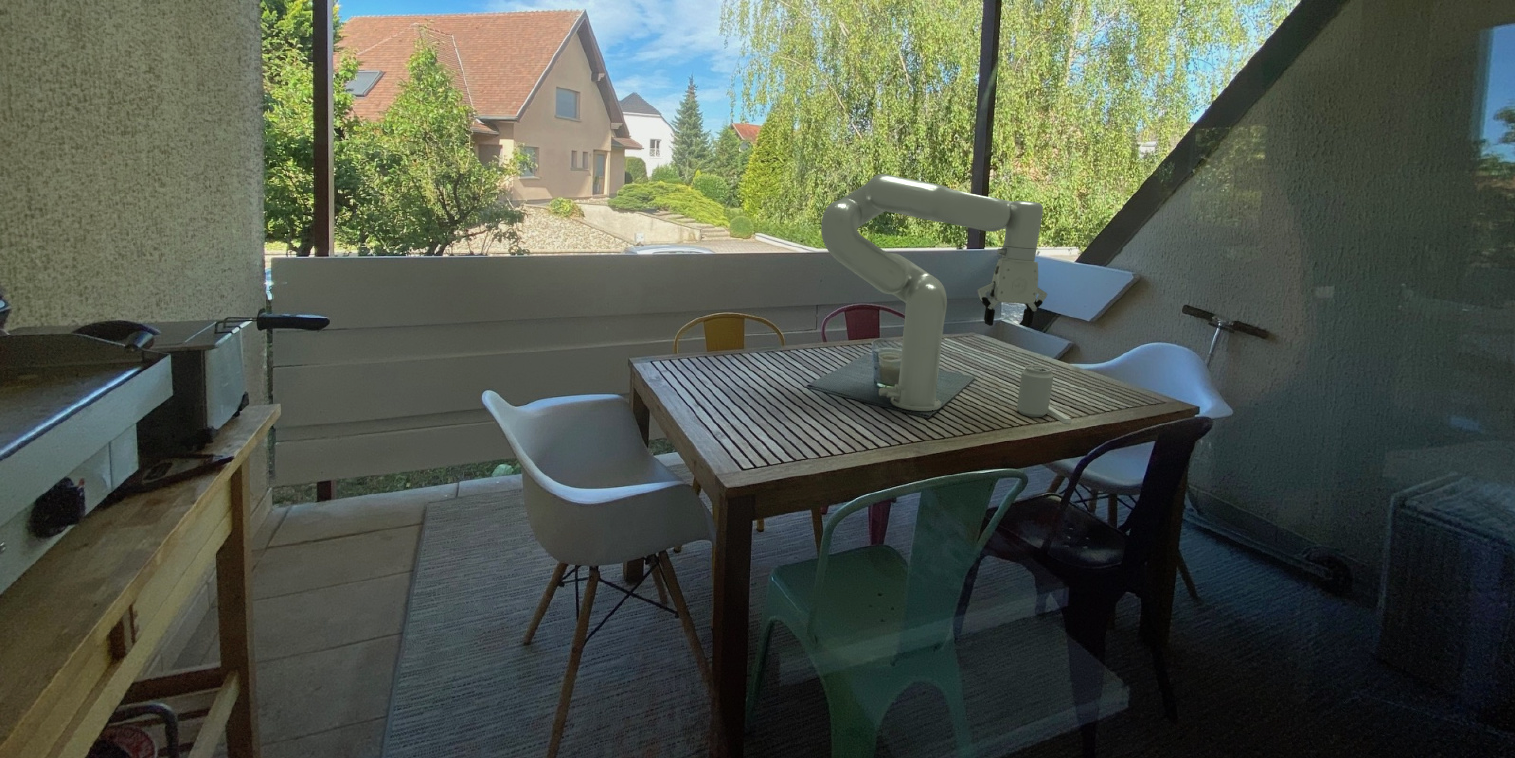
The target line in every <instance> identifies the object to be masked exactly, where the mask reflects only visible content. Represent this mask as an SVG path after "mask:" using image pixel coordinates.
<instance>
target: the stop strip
mask: <svg viewBox="0 0 1515 758" xmlns="http://www.w3.org/2000/svg"><path fill="white" fill-rule="evenodd" d="M1047 414H1048V415H1050V416H1052V417H1053V418H1055V419H1056V420H1058V421H1059V422H1061V423H1063V424H1065V425H1067V424H1069V425H1071V424H1072V418H1070V417H1069V416H1067V415H1066V414H1064V413H1062V412H1061V411H1059V410H1057V409H1055V408H1054V407H1053V406H1051V405H1049V409H1048V413H1047Z"/></svg>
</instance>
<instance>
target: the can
mask: <svg viewBox="0 0 1515 758" xmlns="http://www.w3.org/2000/svg"><path fill="white" fill-rule="evenodd" d="M1052 370H1053V369H1051V367H1049V366H1048V367H1047V366H1045V365H1044V366H1043V365H1037V364H1027V365H1025V367H1024V369H1023V370H1022V371H1021V374H1020V375H1021V376H1020V382H1019V383H1020V384H1019V389H1018V390H1019V391H1018V397H1017V403H1016V409H1017V411H1018V412H1019V414H1021V415H1023V416H1026V417H1032V418H1042V417H1044V416H1045V415H1047V414H1048V409H1049V406H1050V400H1051V394H1052V389H1053V382H1054V374H1053V373H1052Z"/></svg>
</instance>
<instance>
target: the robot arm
mask: <svg viewBox="0 0 1515 758" xmlns="http://www.w3.org/2000/svg"><path fill="white" fill-rule="evenodd" d="M1043 208H1044V207H1043V205H1042V203H1040V202H1036V201H1027V200H1015V201H1011V200H1007V199H1002V198H997V197H990V196H985V195H979V194H975V193H970V192H965V191H960V190H958V189H953V188H949V187H947V186H945V185H943V184H938V183H933V182H928V181H922V180H917V179H911V178H907V177H902V176H896V175H892V174H887V173H880V174H876V175H874V176H873V177H871V179H869V181H868V182H867V183H865V184H864V185H862V186H860V187H859V188H857V189H855V190H854V191H852V192H851V193H849V194H848V195H846V196H843V197H842V198H840V199H838V200H835V201H833V202H831V203H830V204H829V205H827V207H826V208H825V209H824V212H823V214H822V218H821V224H820V225H821V227H820V228H821V229H820V233H821V238H822V241H823V244H824V246H825V248H826V249H827V251H828V253H829V254H830V255H831V257H833V258H834V259H835V260H836V261H837V262H838V263H840V264H841V265H843V266H844V267H845V268H846V269H848V270H850V272H853V273H854V274H855V275H856V276H858V277H859V278H861V279H862V280H864V281H865V282H867V283H868V284H869V285H871V286H873V288H875V289H876V290H878V291H879V292H881V293H882V294H886V295H893V296H894V297H896V298H897V299H899V300H900V301H902V302H903V303H905V310H904V311H905V313H904V325H903V333H902V345H901V354H900V355H901V356H900V357H901V358H900V365H899V366H900V367H899V375H898V383H894V387H893V386H892V387H890V388H887V387H880V388H879V389H878V395H879V396H880V397H881V396H883V397H885V396H886V398H890V403H891V404H892V405H893V406H895V407H898V408H900V409H904V410H908V411H913V412H914V411H916V412H933V411H937V410H939V409H940V408H941V407H942V402H941V400H939V399H938V398H936V396H937V388H938V378H939V369H940V368H939V367H940V360H941V353H942V352H941V351H942V342H943V334H944V326H945V319H946V313H947V307H948V306H947V304H948V300H947V299H948V298H947V291H946V289H945V287H944V285H943V283H942V282H941V281H940V280H939V279H938V278H936V277H935V276H934V275H932V274H930V273H929V272H927V271H926V270H924V269H923V268H922V267H920V266H919V265H917V264H915V263H914V262H912V261H911V260H909V259H908V258H906V257H904V256H902V255H901V254H899V253H894V252H891V253H890V252H889V253H888V252H887V251H885V250H884V249H882V248H881V247H879V246H877V245H876V244H875V243H874V242H872V241H870V240H868V239H867V238H866V237H864V236H863V235H861V234H860V232H859V231H858V228H860V227H861V226H863V225H865V224H866V223H868V222H870V221H871V220H873V219H874V218H876V217H878V216H880V215H881V214H883V213H884V212H888V213H892V214H898V215H903V216H908V217H912V218H916V219H921V220H926V221H930V222H937V223H946V224H951V225H955V226H960V227H964V228H970V229H974V230H978V231H979V230H980V231H984V232H992V233H995V232H998V231H1000V230H1005V233H1004V240H1003V245H1002V247H1001V248H998V249H997V251H996V253H997V254H998V255H1000V256H1001V258H999V259H998V261H997V263H996V266H995V269H994V272H993V276H992V280H991V283H989V284H987V285H984V286H982V287H980V288H978V289H977V294H978V297H979V300H980V302H981V303H982V305H983V306H984V309H985V310H984V316H983V317H984V318H983V321H984V324H985V325H987V326H989V327H991V326H993V325H994V319H995V314H996V310H995V309H994V308H995V307H996V306H997V305H998V304H999V303H1004V304H1007V303H1008V304H1024V306H1025V308H1024V310H1023V313H1022V321H1021V325H1022V326H1024V327H1025V328H1031V325H1032V324H1033V319H1034V314H1035V312H1037V309H1038V308H1039V307H1040V306H1042V304H1043V302H1044V301H1045V300H1046V298H1047V297H1048V293H1047V292H1046V291H1044V290H1043V289H1041V288H1040V287H1038V286H1039V263H1038V261H1035V260H1036V254H1037V247H1038V244H1039V237H1040V230H1041V224H1042V220H1043V219H1042V218H1043V212H1044V209H1043ZM987 293H989V297H987ZM932 410H933V411H932Z"/></svg>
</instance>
